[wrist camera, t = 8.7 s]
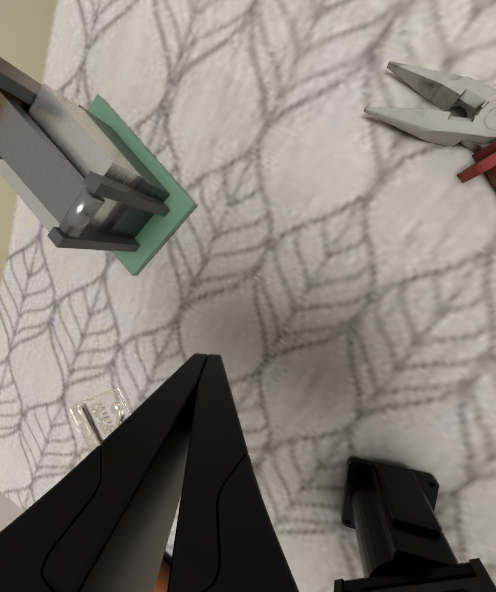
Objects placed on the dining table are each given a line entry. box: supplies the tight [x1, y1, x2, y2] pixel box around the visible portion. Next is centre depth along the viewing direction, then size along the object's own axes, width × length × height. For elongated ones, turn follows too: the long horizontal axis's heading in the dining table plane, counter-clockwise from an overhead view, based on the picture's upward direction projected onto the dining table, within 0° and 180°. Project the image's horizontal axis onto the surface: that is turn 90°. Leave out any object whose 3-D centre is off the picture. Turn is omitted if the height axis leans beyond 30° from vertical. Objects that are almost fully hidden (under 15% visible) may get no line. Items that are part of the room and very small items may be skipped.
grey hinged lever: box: [0, 88, 105, 237], centre depth 15 cm, size 2×3×11 cm
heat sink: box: [0, 83, 170, 251], centre depth 18 cm, size 8×7×6 cm
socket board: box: [0, 58, 197, 276], centre depth 17 cm, size 13×9×8 cm
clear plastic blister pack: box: [69, 388, 131, 450], centre depth 26 cm, size 8×7×2 cm
